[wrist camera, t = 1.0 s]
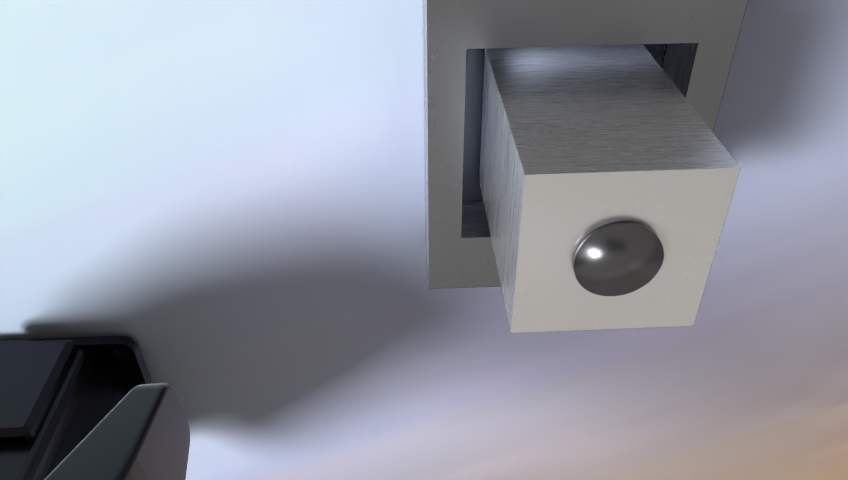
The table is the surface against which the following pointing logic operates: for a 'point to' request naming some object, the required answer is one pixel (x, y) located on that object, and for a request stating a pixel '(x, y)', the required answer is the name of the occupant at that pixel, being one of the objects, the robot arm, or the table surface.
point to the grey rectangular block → (598, 189)
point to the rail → (545, 27)
